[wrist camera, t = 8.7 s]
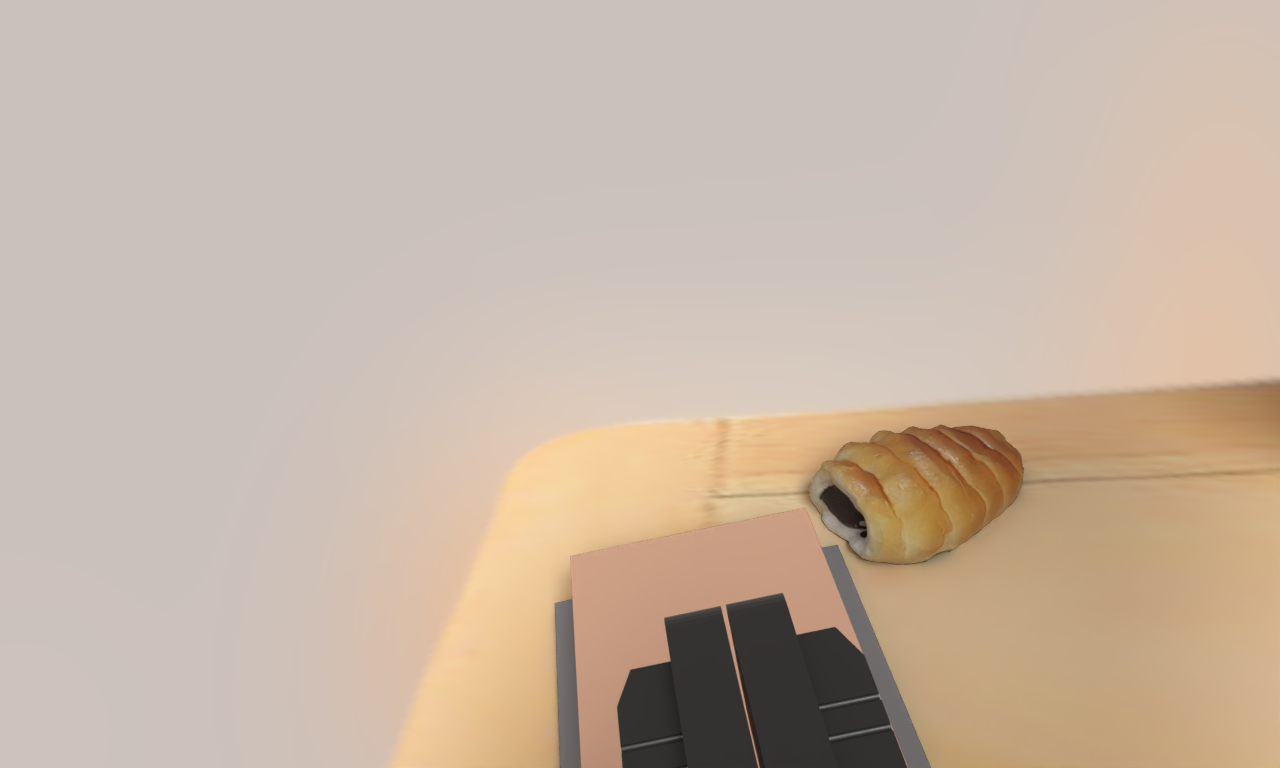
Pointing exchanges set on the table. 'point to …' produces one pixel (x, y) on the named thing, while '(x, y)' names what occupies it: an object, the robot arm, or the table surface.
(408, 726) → the table surface
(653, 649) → the tile
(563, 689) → the mat
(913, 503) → the pastry
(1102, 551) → the table surface
